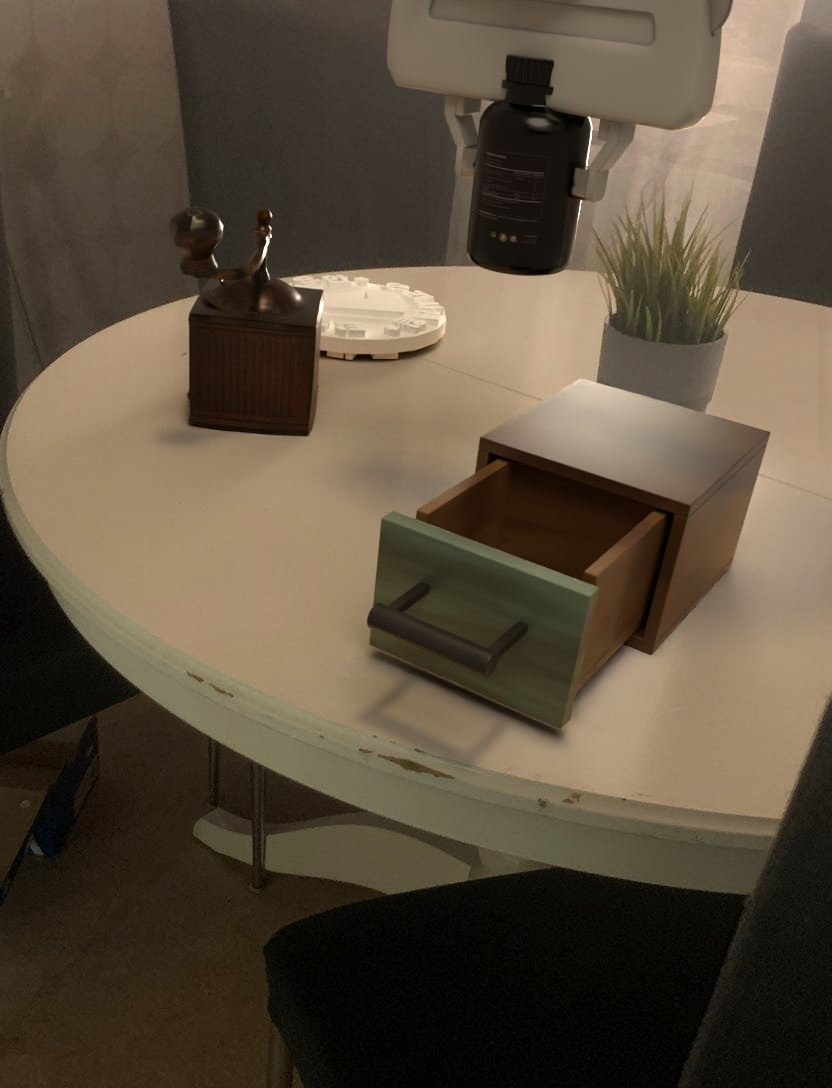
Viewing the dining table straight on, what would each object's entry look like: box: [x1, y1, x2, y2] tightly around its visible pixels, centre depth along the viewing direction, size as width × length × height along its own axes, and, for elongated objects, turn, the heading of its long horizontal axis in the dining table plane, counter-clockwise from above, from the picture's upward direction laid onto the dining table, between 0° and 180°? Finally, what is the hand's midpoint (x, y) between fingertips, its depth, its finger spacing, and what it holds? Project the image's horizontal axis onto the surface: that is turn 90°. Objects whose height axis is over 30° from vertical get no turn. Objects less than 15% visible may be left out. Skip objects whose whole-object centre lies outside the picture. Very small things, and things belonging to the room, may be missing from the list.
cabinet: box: [474, 377, 771, 655], centre depth 73 cm, size 15×14×10 cm
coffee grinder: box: [168, 205, 324, 436], centre depth 89 cm, size 16×11×18 cm
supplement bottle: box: [466, 55, 593, 277], centre depth 69 cm, size 7×7×12 cm
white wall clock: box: [288, 274, 447, 361], centre depth 115 cm, size 20×20×3 cm
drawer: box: [366, 457, 674, 730], centre depth 63 cm, size 18×12×8 cm
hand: (526, 187), depth 69 cm, fingers closed on supplement bottle, 7 cm apart
